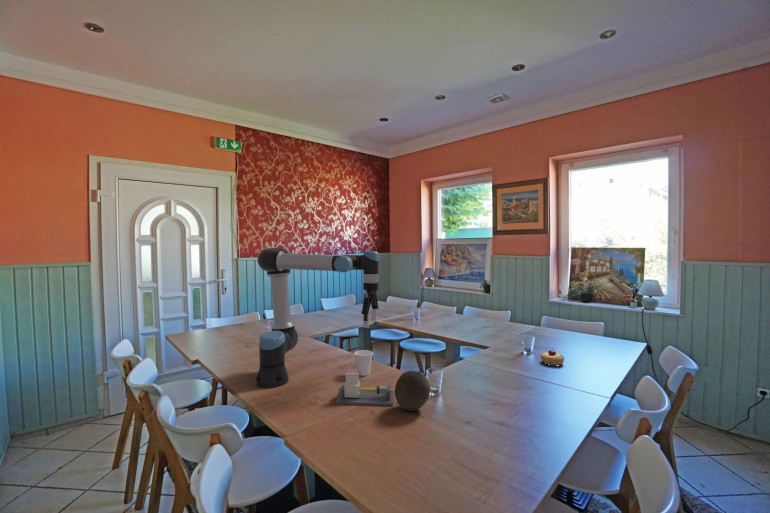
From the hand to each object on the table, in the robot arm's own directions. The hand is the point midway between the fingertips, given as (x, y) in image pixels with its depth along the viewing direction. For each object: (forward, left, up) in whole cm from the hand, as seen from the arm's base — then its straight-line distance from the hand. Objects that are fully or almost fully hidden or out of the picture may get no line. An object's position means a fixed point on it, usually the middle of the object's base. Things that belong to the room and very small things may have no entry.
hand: (370, 324), depth 179 cm
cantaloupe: (+20, -33, -27) cm, 47 cm away
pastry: (+100, +27, -27) cm, 107 cm away
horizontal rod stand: (0, -25, -27) cm, 37 cm away
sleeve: (-5, -25, -25) cm, 36 cm away
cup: (-4, +4, -27) cm, 27 cm away
